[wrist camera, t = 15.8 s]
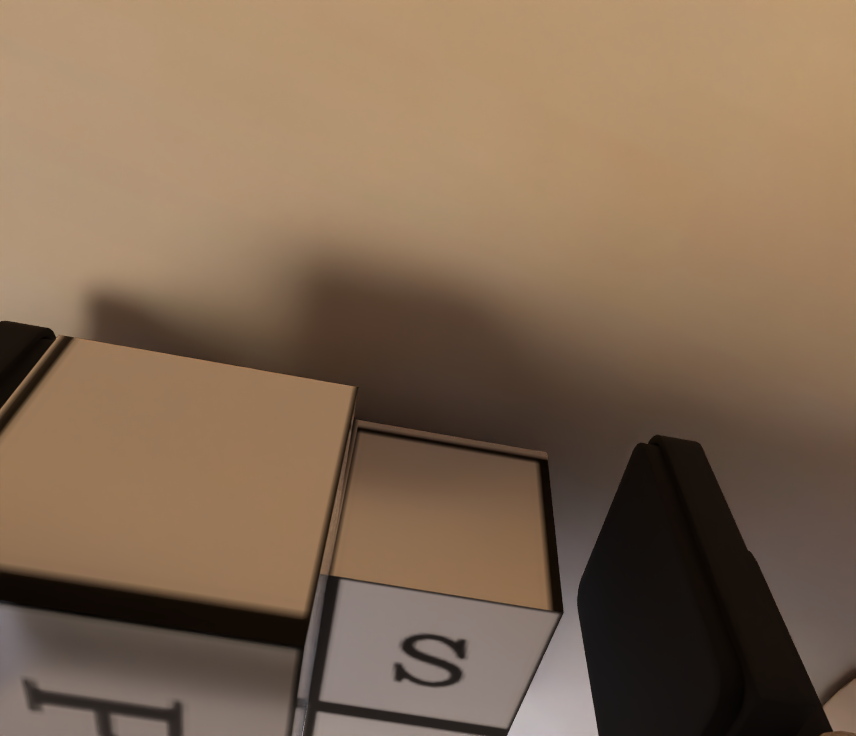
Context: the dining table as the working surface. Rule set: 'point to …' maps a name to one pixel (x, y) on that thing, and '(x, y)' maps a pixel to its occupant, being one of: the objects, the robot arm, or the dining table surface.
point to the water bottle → (842, 708)
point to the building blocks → (258, 558)
